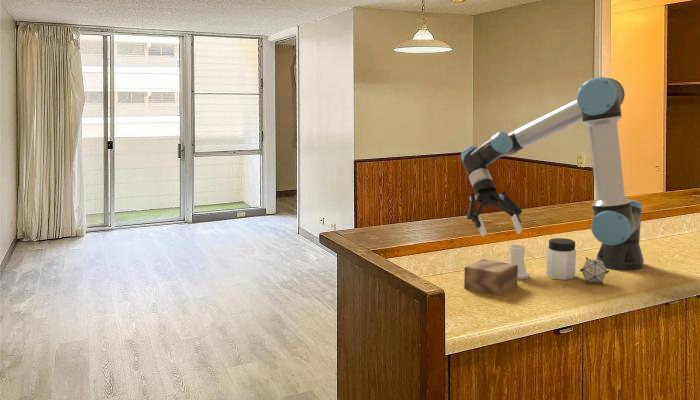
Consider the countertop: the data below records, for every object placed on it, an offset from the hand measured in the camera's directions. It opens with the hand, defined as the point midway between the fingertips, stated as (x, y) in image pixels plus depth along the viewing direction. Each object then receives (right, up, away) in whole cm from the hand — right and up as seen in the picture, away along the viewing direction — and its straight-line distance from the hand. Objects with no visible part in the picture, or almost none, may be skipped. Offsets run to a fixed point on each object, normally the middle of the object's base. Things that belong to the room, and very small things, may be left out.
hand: (502, 233), depth 203 cm
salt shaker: (+3, -14, -6) cm, 15 cm away
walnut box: (-8, -16, -17) cm, 25 cm away
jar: (+17, -14, -7) cm, 23 cm away
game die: (+25, -15, -15) cm, 33 cm away
